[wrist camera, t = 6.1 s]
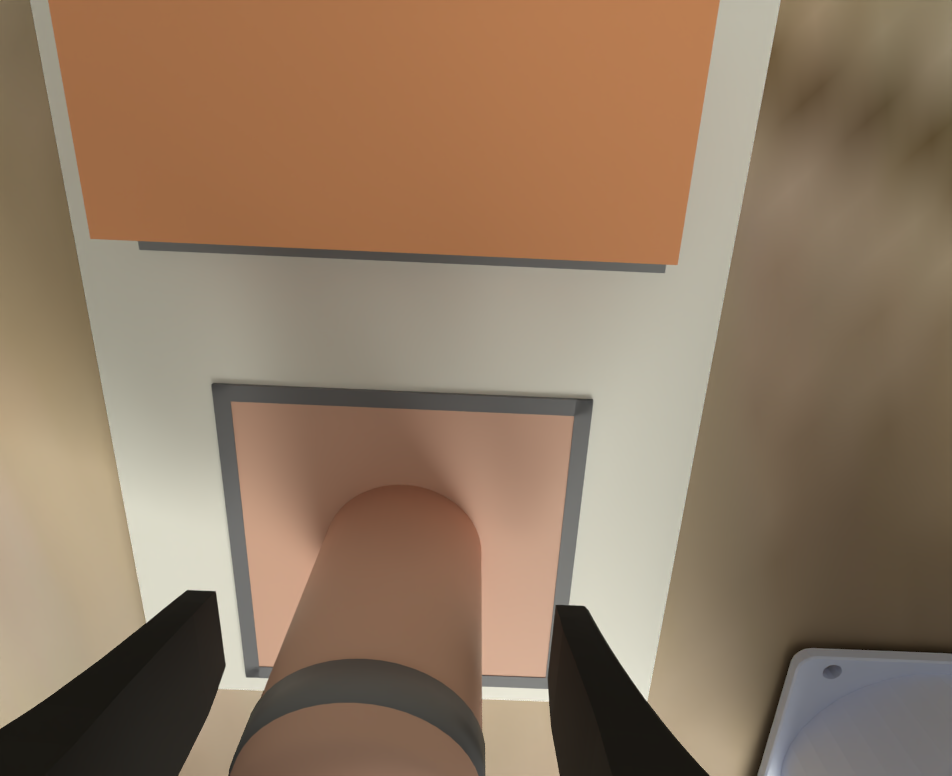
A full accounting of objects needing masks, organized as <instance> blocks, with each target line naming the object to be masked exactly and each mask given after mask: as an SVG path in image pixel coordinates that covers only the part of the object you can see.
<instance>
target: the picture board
mask: <svg viewBox="0 0 952 776" xmlns="http://www.w3.org/2000/svg"><path fill="white" fill-rule="evenodd" d="M780 1H781V0H720V3H719V9H718V15H717V22H716V28H715V34H714V40H713V47H712V53H711V59H710V65H709V72H708V78H707V84H706V90H705V97H704V103H703V109H702V115H701V122H700V128H699V134H698V141H697V147H696V153H695V159H694V166H693V172H692V178H691V184H690V191H689V197H688V203H687V209H686V216H685V222H684V228H683V234H682V241H681V247H680V253H679V259H678V265H663V264H641V263H619V262H596V261H574V260H552V259H529V258H507V257H485V256H462V255H440V254H418V253H395V252H373V251H351V250H328V249H306V248H283V247H261V246H239V245H216V244H194V243H172V242H149V241H127V240H105V239H90V234H89V228H88V223H87V217H86V211H85V206H84V200H83V195H82V189H81V183H80V178H79V172H78V166H77V161H76V155H75V150H74V144H73V138H72V133H71V127H70V121H69V116H68V110H67V104H66V99H65V93H64V88H63V82H62V76H61V71H60V65H59V59H58V54H57V48H56V43H55V37H54V31H53V26H52V20H51V14H50V9H49V3H48V0H30V4H31V9H32V14H33V20H34V25H35V31H36V36H37V41H38V47H39V52H40V57H41V63H42V68H43V73H44V79H45V84H46V89H47V95H48V100H49V105H50V111H51V116H52V122H53V127H54V132H55V138H56V143H57V148H58V154H59V159H60V164H61V170H62V175H63V180H64V186H65V191H66V196H67V202H68V207H69V213H70V218H71V223H72V229H73V234H74V239H75V245H76V250H77V255H78V261H79V266H80V271H81V277H82V282H83V287H84V293H85V298H86V304H87V309H88V314H89V320H90V325H91V330H92V336H93V341H94V346H95V352H96V357H97V362H98V368H99V373H100V378H101V384H102V389H103V395H104V400H105V405H106V411H107V416H108V421H109V427H110V432H111V437H112V443H113V448H114V453H115V459H116V464H117V469H118V475H119V480H120V486H121V491H122V496H123V502H124V507H125V512H126V518H127V523H128V528H129V534H130V539H131V544H132V550H133V555H134V560H135V566H136V571H137V577H138V582H139V587H140V593H141V598H142V603H143V609H144V614H145V619H146V623H147V622H148V621H149V620H150V619H152V618H153V617H154V616H155V615H157V614H158V613H159V612H160V611H161V610H163V609H164V608H165V607H166V606H168V605H169V604H170V603H171V602H173V601H174V600H175V599H176V598H178V597H179V596H180V595H181V594H183V593H184V592H185V591H187V590H200V591H216V595H217V603H218V610H219V618H220V625H221V633H222V641H223V648H224V656H225V663H226V667H225V670H224V673H223V676H222V679H221V682H220V684H219V687H218V689H233V690H259V691H264V689H265V686H266V684H267V681H268V679H269V676H270V674H271V671H272V669H273V666H274V664H275V661H276V659H277V656H278V654H279V651H280V649H281V646H282V644H283V641H284V639H285V636H286V634H287V631H288V629H289V626H290V624H291V621H292V619H293V616H294V614H295V611H296V609H297V606H298V604H299V601H300V599H301V596H302V594H303V591H304V589H305V586H306V584H307V581H308V579H309V576H310V574H311V571H312V569H313V566H314V564H315V561H316V559H317V556H318V554H319V551H320V549H321V546H322V544H323V541H324V539H325V536H326V534H327V531H328V529H329V526H330V524H331V522H332V520H333V518H334V517H335V515H336V514H337V513H338V511H339V510H340V509H341V508H342V507H343V506H344V505H345V504H346V503H347V502H349V501H350V500H351V499H353V498H354V497H356V496H358V495H359V494H361V493H363V492H366V491H368V490H371V489H374V488H378V487H382V486H389V485H411V486H417V487H422V488H426V489H429V490H432V491H435V492H437V493H439V494H441V495H443V496H445V497H447V498H448V499H450V500H451V501H453V502H454V503H455V504H457V505H458V506H459V507H460V508H461V509H462V510H463V511H464V512H465V513H466V514H467V515H468V517H469V518H470V520H471V521H472V522H473V524H474V526H475V528H476V530H477V533H478V536H479V539H480V543H481V576H482V699H494V700H520V701H546V702H549V693H548V679H547V678H548V669H549V660H550V651H551V642H552V633H553V624H554V615H555V606H556V605H577V606H585V607H586V608H587V609H588V610H589V612H590V614H591V616H592V617H593V619H594V621H595V623H596V625H597V626H598V628H599V630H600V632H601V633H602V635H603V637H604V638H605V640H606V642H607V643H608V645H609V646H610V648H611V650H612V651H613V653H614V654H615V656H616V658H617V659H618V661H619V662H620V664H621V665H622V667H623V668H624V670H625V671H626V673H627V674H628V675H629V677H630V678H631V680H632V681H633V683H634V684H635V686H636V687H637V688H638V690H639V691H640V693H641V694H642V695H643V697H644V698H645V699H646V701H647V700H648V695H649V690H650V684H651V679H652V674H653V669H654V663H655V658H656V653H657V648H658V642H659V637H660V632H661V627H662V621H663V616H664V611H665V606H666V600H667V595H668V590H669V585H670V579H671V574H672V569H673V564H674V558H675V553H676V548H677V543H678V537H679V532H680V527H681V522H682V516H683V511H684V506H685V501H686V495H687V490H688V485H689V480H690V474H691V469H692V464H693V459H694V453H695V448H696V443H697V438H698V432H699V427H700V422H701V416H702V411H703V406H704V401H705V395H706V390H707V385H708V380H709V374H710V369H711V364H712V359H713V353H714V348H715V343H716V338H717V332H718V327H719V322H720V317H721V311H722V306H723V301H724V296H725V290H726V285H727V280H728V275H729V269H730V264H731V259H732V254H733V248H734V243H735V238H736V233H737V227H738V222H739V217H740V212H741V206H742V201H743V196H744V191H745V185H746V180H747V175H748V170H749V164H750V159H751V154H752V149H753V143H754V138H755V133H756V127H757V122H758V117H759V112H760V106H761V101H762V96H763V91H764V85H765V80H766V75H767V70H768V64H769V59H770V54H771V49H772V43H773V38H774V33H775V28H776V22H777V17H778V12H779V7H780Z"/></svg>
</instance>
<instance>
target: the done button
mask: <svg viewBox="0 0 952 776" xmlns="http://www.w3.org/2000/svg"><path fill="white" fill-rule="evenodd" d="M48 3H49V9H50V14H51V20H52V26H53V31H54V37H55V43H56V48H57V54H58V59H59V65H60V71H61V76H62V82H63V88H64V93H65V99H66V104H67V110H68V116H69V121H70V127H71V133H72V138H73V144H74V150H75V155H76V161H77V166H78V172H79V178H80V183H81V189H82V195H83V200H84V206H85V211H86V217H87V223H88V228H89V234H90V239H105V240H127V241H149V242H172V243H194V244H216V245H239V246H261V247H283V248H306V249H328V250H351V251H373V252H395V253H418V254H440V255H462V256H485V257H507V258H529V259H552V260H574V261H596V262H619V263H641V264H663V265H678V259H679V253H680V247H681V241H682V234H683V228H684V222H685V216H686V209H687V203H688V197H689V191H690V184H691V178H692V172H693V166H694V159H695V153H696V147H697V141H698V134H699V128H700V122H701V115H702V109H703V103H704V97H705V90H706V84H707V78H708V72H709V65H710V59H711V53H712V47H713V40H714V34H715V28H716V22H717V15H718V9H719V3H720V0H48Z"/></svg>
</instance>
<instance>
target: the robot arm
mask: <svg viewBox="0 0 952 776" xmlns="http://www.w3.org/2000/svg"><path fill="white" fill-rule="evenodd" d="M830 665H831V666H830ZM828 666H829V667H828ZM225 667H226V663H225V656H224V648H223V641H222V633H221V625H220V618H219V610H218V603H217V595H216V591H200V590H187V591H185V592H184V593H183V594H181V595H180V596H179V597H178V598H176V599H175V600H174V601H173V602H171V603H170V604H169V605H168V606H166V607H165V608H164V609H163V610H161V611H160V612H159V613H158V614H157V615H155V616H154V617H153V618H152V619H150V620H149V621H148V622H147V623H146V624H144V625H143V626H142V627H141V628H139V629H138V630H137V631H136V632H134V633H133V634H132V635H131V636H129V637H128V638H127V639H126V640H124V641H123V642H122V643H121V644H119V645H118V646H117V647H116V648H114V649H113V650H112V651H110V652H109V653H108V654H107V655H105V656H104V657H103V658H102V659H100V660H99V661H98V662H96V663H95V664H94V665H92V666H91V667H89V668H88V669H87V670H85V671H84V672H83V673H81V674H80V675H79V676H77V677H76V678H74V679H73V680H72V681H70V682H69V683H68V684H66V685H65V686H64V687H62V688H61V689H59V690H58V691H57V692H55V693H54V694H53V695H51V696H50V697H48V698H47V699H45V700H44V701H43V702H41V703H40V704H38V705H37V706H35V707H34V708H32V709H31V710H29V711H28V712H26V713H25V714H23V715H22V716H20V717H18V718H17V719H15V720H14V721H12V722H10V723H9V724H7V725H6V726H4V727H3V728H1V729H0V776H178V775H179V773H180V771H181V769H182V767H183V765H184V763H185V761H186V759H187V757H188V755H189V753H190V751H191V749H192V747H193V745H194V743H195V741H196V739H197V737H198V735H199V733H200V731H201V729H202V727H203V725H204V723H205V721H206V718H207V716H208V714H209V712H210V709H211V706H212V704H213V701H214V698H215V696H216V693H217V690H218V687H219V684H220V682H221V679H222V676H223V673H224V670H225ZM826 667H828V668H826ZM547 679H548V693H549V706H550V718H551V729H552V735H553V740H554V746H555V751H556V757H557V762H558V768H559V773H560V776H709V774H708V773H707V772H706V771H705V770H704V769H703V768H702V767H701V766H700V765H699V764H698V763H697V762H696V761H695V759H694V758H693V757H692V756H691V755H690V754H689V753H688V752H687V750H686V749H685V748H684V747H683V746H682V745H681V744H680V742H679V741H678V740H677V739H676V738H675V736H674V735H673V734H672V733H671V732H670V730H669V729H668V728H667V727H666V725H665V724H664V723H663V722H662V720H661V719H660V718H659V717H658V715H657V714H656V713H655V711H654V710H653V709H652V708H651V706H650V705H649V704H648V702H647V701H646V699H645V698H644V697H643V695H642V694H641V693H640V691H639V690H638V688H637V687H636V686H635V684H634V683H633V681H632V680H631V678H630V677H629V675H628V674H627V673H626V671H625V670H624V668H623V667H622V665H621V664H620V662H619V661H618V659H617V658H616V656H615V654H614V653H613V651H612V650H611V648H610V646H609V645H608V643H607V642H606V640H605V638H604V637H603V635H602V633H601V632H600V630H599V628H598V626H597V625H596V623H595V621H594V619H593V617H592V616H591V614H590V612H589V610H588V609H587V608H586V607H585V606H577V605H556V606H555V615H554V624H553V633H552V642H551V651H550V660H549V669H548V678H547ZM757 776H952V653H926V652H901V651H875V650H850V649H824V648H808V649H803V650H801V651H799V652H798V653H796V654H795V655H794V656H793V658H792V660H791V663H790V666H789V669H788V673H787V676H786V680H785V683H784V686H783V690H782V693H781V697H780V700H779V704H778V707H777V710H776V714H775V717H774V721H773V724H772V727H771V731H770V734H769V738H768V741H767V745H766V748H765V751H764V755H763V758H762V762H761V765H760V768H759V772H758V775H757Z"/></svg>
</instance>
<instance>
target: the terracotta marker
mask: <svg viewBox="0 0 952 776" xmlns="http://www.w3.org/2000/svg"><path fill="white" fill-rule="evenodd" d="M229 776H485V743H484V738H483V733H482V576H481V543H480V539H479V536H478V533H477V530H476V528H475V526H474V524H473V522H472V521H471V520H470V518H469V517H468V515H467V514H466V513H465V512H464V511H463V510H462V509H461V508H460V507H459V506H458V505H457V504H455V503H454V502H453V501H451V500H450V499H448V498H447V497H445V496H443V495H441V494H439V493H437V492H435V491H432V490H429V489H426V488H422V487H417V486H411V485H389V486H382V487H378V488H374V489H371V490H368V491H366V492H363V493H361V494H359V495H358V496H356V497H354V498H353V499H351V500H350V501H349V502H347V503H346V504H345V505H344V506H343V507H342V508H341V509H340V510H339V511H338V513H337V514H336V515H335V517H334V518H333V520H332V522H331V524H330V526H329V529H328V531H327V534H326V536H325V539H324V541H323V544H322V546H321V549H320V551H319V554H318V556H317V559H316V561H315V564H314V566H313V569H312V571H311V574H310V576H309V579H308V581H307V584H306V586H305V589H304V591H303V594H302V596H301V599H300V601H299V604H298V606H297V609H296V611H295V614H294V616H293V619H292V621H291V624H290V626H289V629H288V631H287V634H286V636H285V639H284V641H283V644H282V646H281V649H280V651H279V654H278V656H277V659H276V661H275V664H274V666H273V669H272V671H271V674H270V676H269V679H268V681H267V684H266V686H265V689H264V691H263V693H262V696H261V698H260V700H259V701H258V702H257V704H256V706H255V708H254V709H253V711H252V713H251V715H250V718H249V720H248V723H247V725H246V728H245V730H244V733H243V735H242V737H241V740H240V742H239V745H238V747H237V750H236V752H235V755H234V757H233V760H232V763H231V766H230V769H229Z"/></svg>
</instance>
